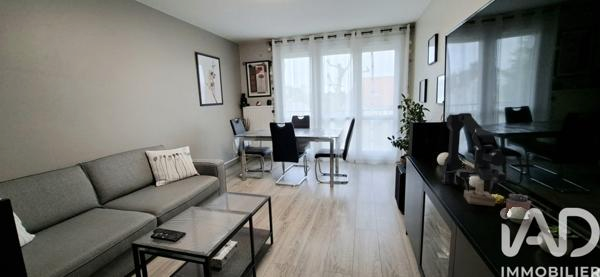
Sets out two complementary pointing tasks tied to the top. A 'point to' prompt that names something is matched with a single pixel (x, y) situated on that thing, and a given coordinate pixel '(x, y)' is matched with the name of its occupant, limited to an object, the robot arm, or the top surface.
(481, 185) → the pin
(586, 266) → the top surface
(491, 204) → the bore block
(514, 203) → the lighter
